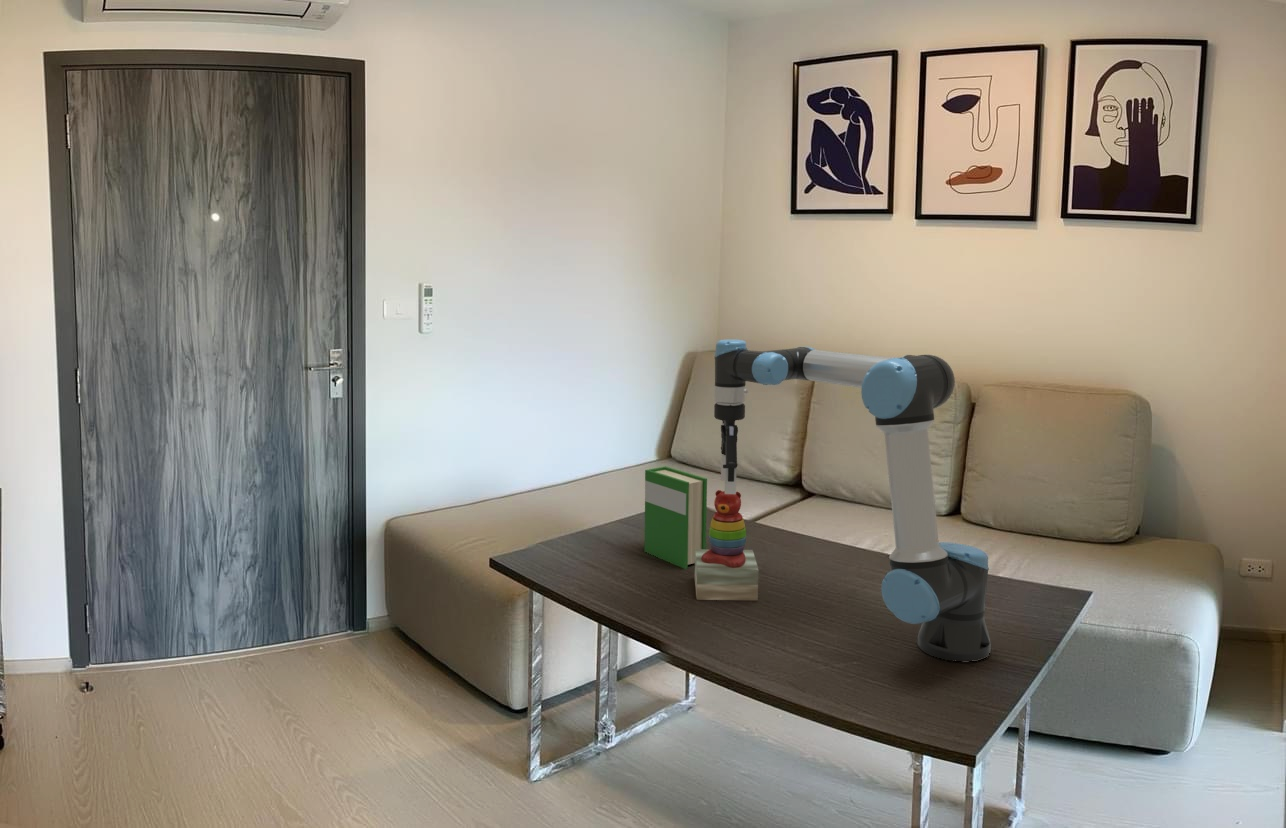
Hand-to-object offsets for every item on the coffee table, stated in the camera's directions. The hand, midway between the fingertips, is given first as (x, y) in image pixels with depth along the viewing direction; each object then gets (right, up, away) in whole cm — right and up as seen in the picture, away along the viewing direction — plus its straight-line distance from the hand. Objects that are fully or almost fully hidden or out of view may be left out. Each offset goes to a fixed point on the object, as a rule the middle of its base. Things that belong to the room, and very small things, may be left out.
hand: (728, 487), depth 236 cm
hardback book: (-12, -22, +29) cm, 38 cm away
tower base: (0, -26, +5) cm, 27 cm away
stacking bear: (0, -19, +3) cm, 19 cm away
